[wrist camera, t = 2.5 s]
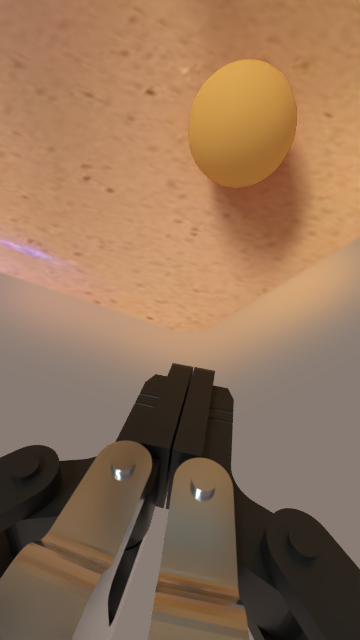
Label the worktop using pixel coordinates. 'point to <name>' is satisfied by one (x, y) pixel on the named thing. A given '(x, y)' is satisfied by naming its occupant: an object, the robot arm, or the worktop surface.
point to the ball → (242, 123)
